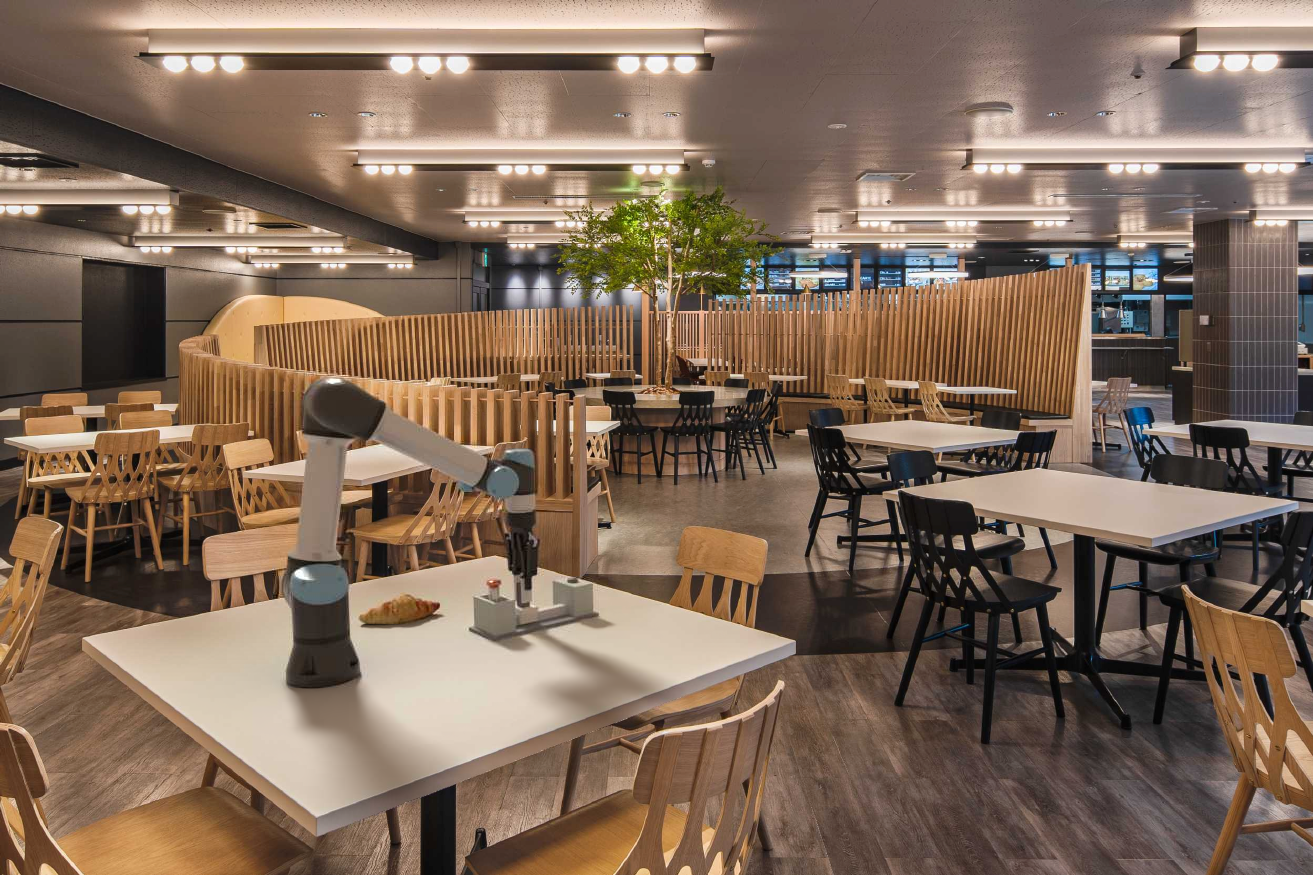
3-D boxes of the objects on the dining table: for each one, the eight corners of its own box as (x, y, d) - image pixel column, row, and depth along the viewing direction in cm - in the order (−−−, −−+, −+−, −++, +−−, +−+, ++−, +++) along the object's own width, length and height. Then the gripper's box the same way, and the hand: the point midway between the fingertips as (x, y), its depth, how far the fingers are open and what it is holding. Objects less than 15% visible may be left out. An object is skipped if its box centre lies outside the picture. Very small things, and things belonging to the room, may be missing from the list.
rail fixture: (493, 641, 221) (492, 602, 220) (468, 630, 230) (467, 593, 230) (598, 615, 242) (598, 580, 241) (572, 606, 251) (571, 572, 250)
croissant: (362, 641, 234) (364, 618, 230) (354, 615, 241) (355, 592, 237) (443, 626, 244) (446, 604, 241) (433, 602, 252) (435, 579, 248)
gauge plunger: (492, 618, 226) (491, 583, 225) (484, 615, 228) (483, 580, 227) (504, 615, 228) (503, 581, 227) (497, 612, 231) (496, 578, 230)
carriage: (521, 625, 230) (520, 586, 229) (509, 620, 234) (508, 582, 234) (538, 621, 233) (537, 583, 232) (525, 616, 238) (524, 579, 237)
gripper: (550, 512, 228) (552, 604, 230) (516, 504, 240) (519, 592, 242) (524, 515, 223) (527, 609, 225) (492, 508, 235) (494, 597, 237)
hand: (523, 600), depth 233 cm, fingers closed on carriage, 2 cm apart
